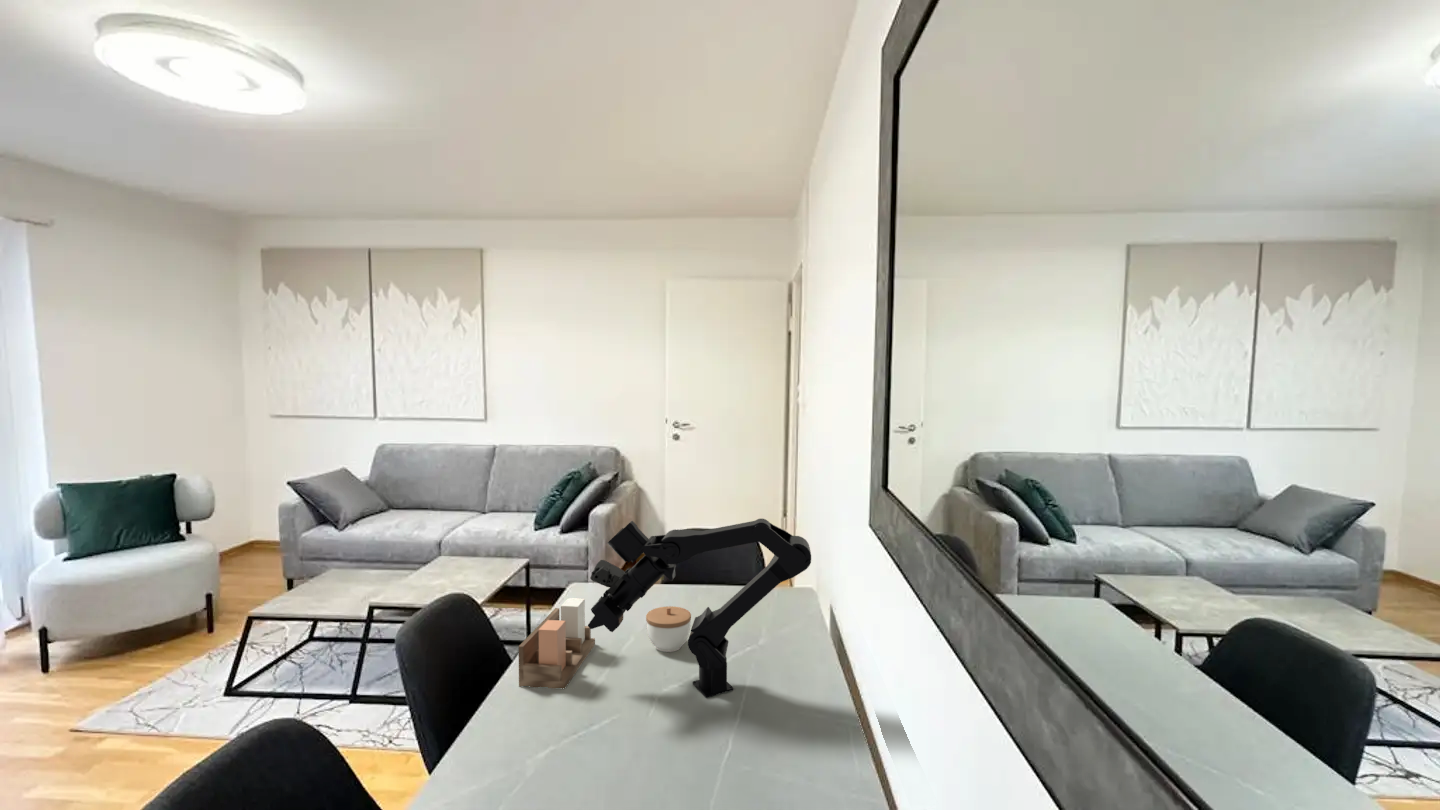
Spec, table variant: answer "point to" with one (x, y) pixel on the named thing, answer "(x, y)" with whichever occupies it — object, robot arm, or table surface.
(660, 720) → the table surface
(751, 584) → the robot arm
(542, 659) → the light orange tall block
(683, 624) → the lidded jar
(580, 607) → the white tall block
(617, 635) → the table surface
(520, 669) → the wooden desk organizer
